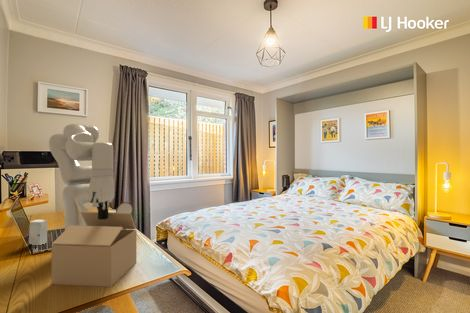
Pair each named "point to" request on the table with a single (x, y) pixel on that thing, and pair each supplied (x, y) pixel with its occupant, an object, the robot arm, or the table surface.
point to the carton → (94, 261)
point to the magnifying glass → (125, 208)
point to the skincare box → (38, 232)
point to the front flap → (88, 235)
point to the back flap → (110, 220)
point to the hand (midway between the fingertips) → (103, 218)
